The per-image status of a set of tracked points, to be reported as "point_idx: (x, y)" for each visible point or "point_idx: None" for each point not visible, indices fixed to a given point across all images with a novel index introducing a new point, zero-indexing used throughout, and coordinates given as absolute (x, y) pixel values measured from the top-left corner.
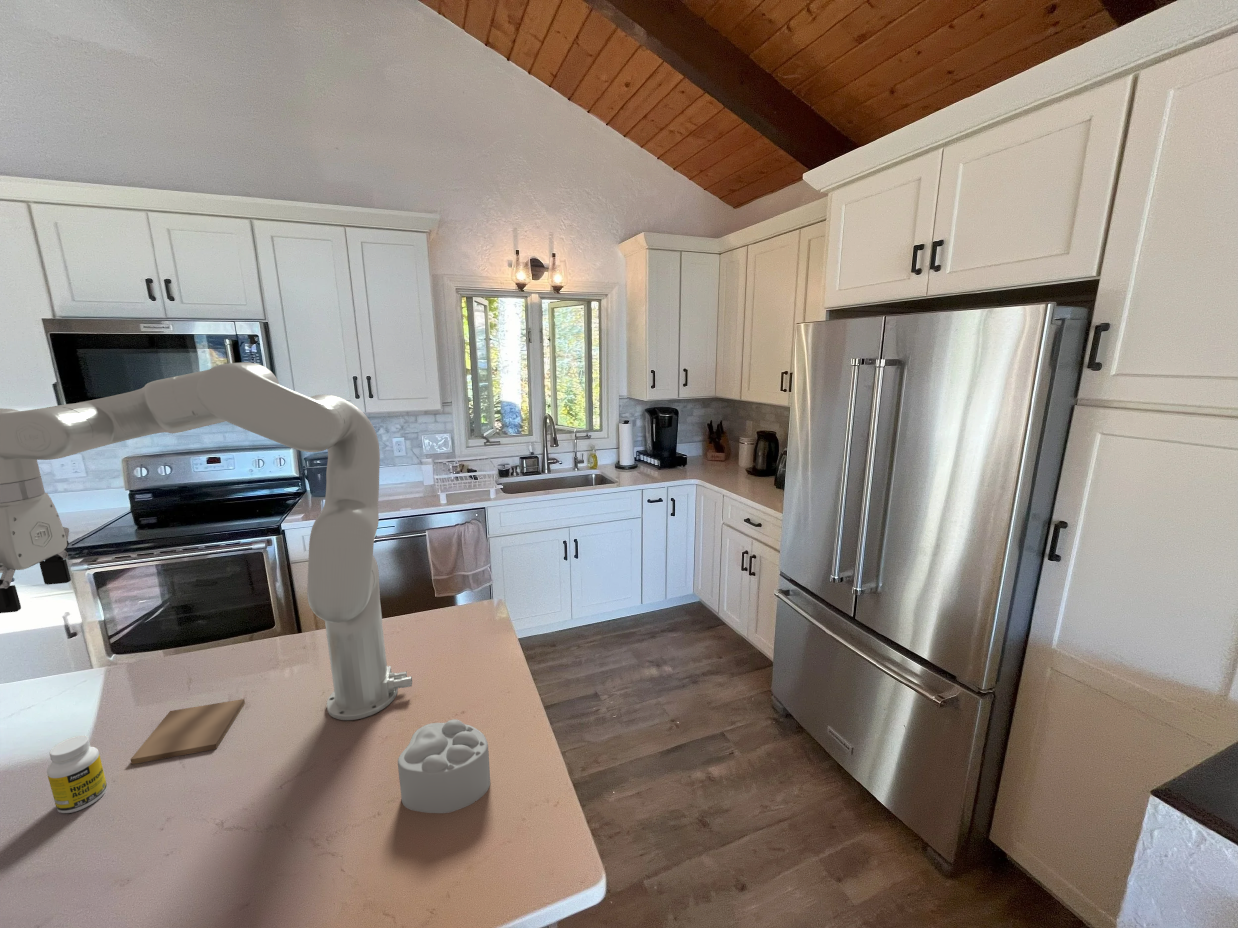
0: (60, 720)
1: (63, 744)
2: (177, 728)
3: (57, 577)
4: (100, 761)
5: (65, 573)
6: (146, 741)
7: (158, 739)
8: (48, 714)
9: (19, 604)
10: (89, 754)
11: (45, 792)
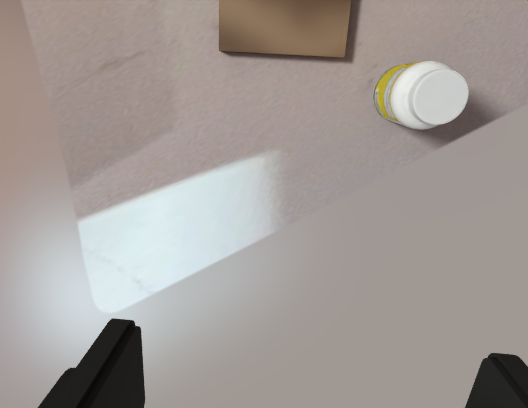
0: (183, 224)
1: (434, 109)
2: (282, 9)
3: (125, 386)
4: (413, 63)
5: (109, 368)
6: (302, 52)
7: (303, 32)
8: (163, 248)
9: (518, 374)
10: (434, 69)
11: (358, 155)
